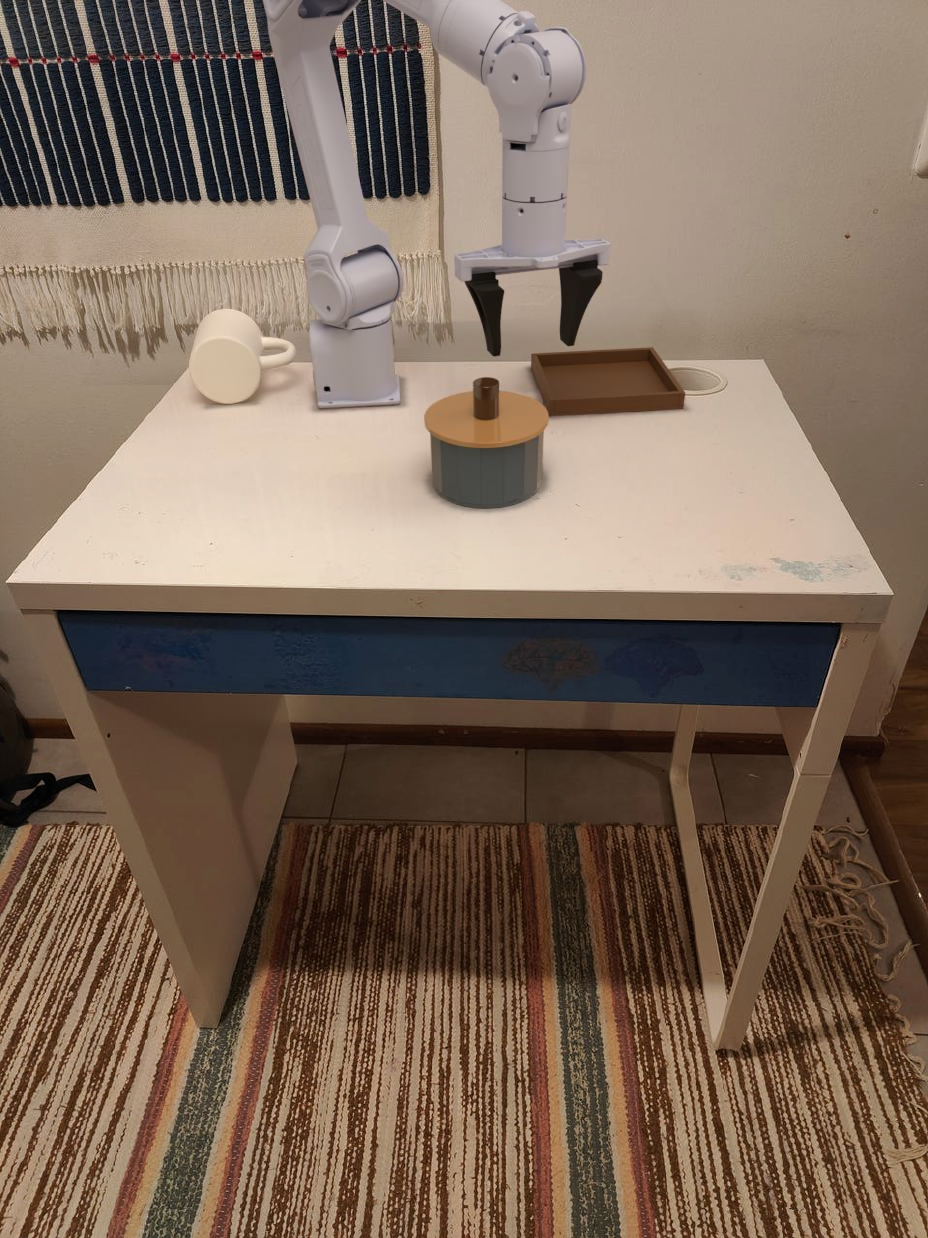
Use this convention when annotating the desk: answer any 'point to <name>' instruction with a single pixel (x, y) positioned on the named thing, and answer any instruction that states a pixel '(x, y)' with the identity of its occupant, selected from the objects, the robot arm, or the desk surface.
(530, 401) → the lid
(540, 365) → the tray
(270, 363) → the mug
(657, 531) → the desk surface
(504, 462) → the blue gray round pot
